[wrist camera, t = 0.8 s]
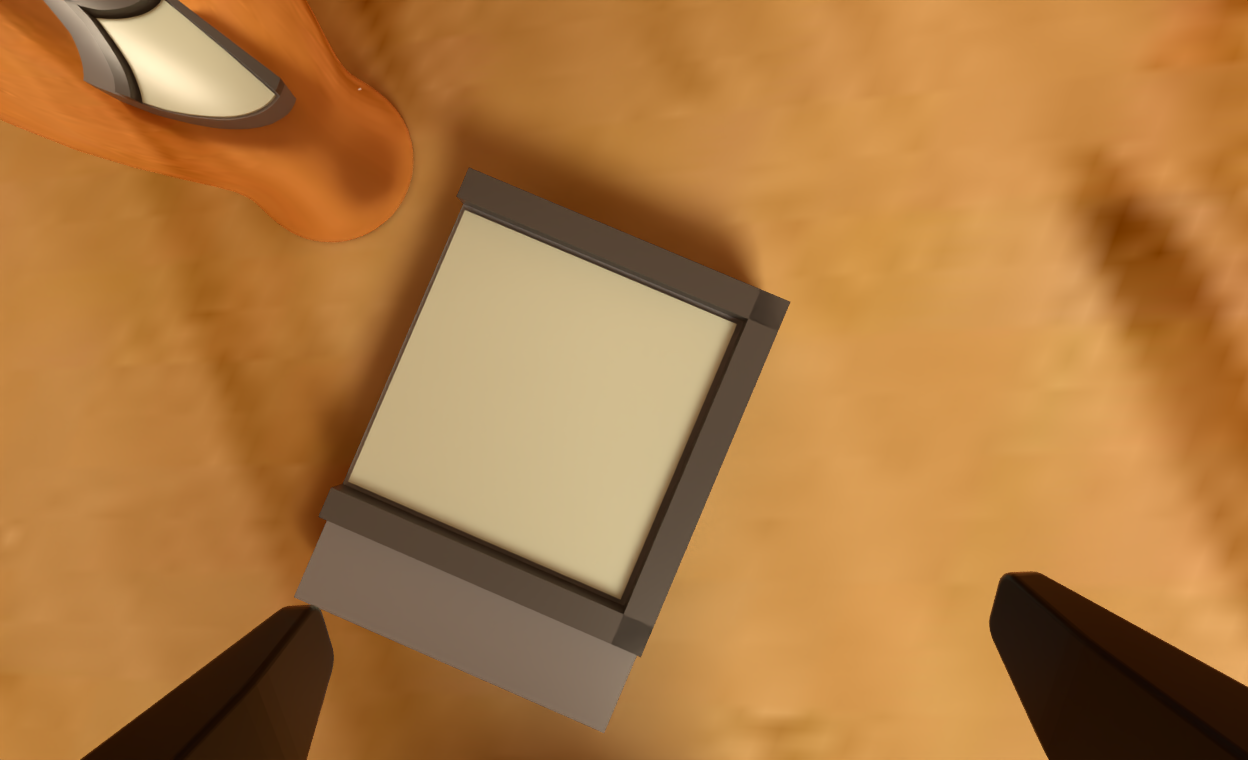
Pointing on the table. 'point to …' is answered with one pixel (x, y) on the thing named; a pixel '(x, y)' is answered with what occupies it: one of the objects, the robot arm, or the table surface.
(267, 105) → the beer glass
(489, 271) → the dock
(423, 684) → the table surface
